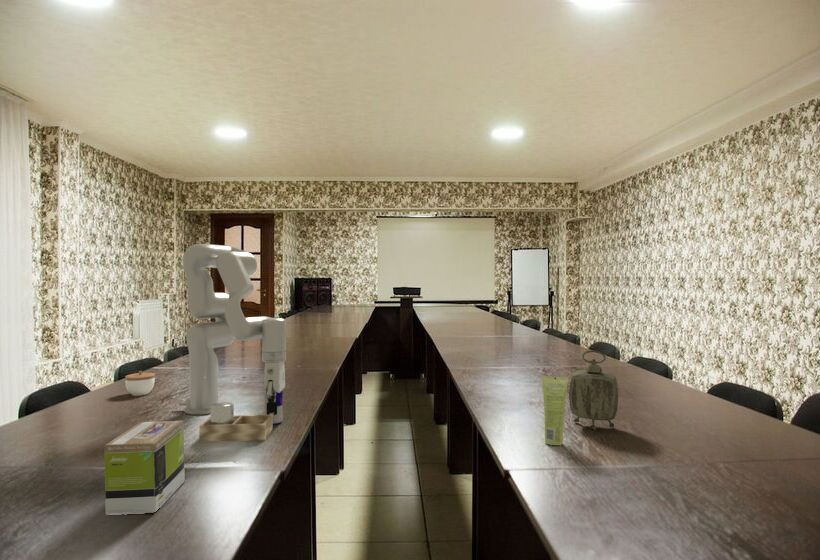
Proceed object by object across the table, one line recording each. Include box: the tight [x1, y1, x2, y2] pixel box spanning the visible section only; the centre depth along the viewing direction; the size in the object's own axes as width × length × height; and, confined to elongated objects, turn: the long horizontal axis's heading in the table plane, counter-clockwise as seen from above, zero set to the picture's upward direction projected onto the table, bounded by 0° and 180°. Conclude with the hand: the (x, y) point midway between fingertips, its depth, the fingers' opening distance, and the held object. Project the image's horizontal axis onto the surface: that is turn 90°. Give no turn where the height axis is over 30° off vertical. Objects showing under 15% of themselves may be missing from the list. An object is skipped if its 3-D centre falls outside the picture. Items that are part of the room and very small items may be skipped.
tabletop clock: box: [568, 349, 619, 430], centre depth 148 cm, size 14×9×25 cm, turn 65°
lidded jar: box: [124, 370, 156, 397], centre depth 190 cm, size 11×11×9 cm
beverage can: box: [264, 383, 284, 426], centre depth 149 cm, size 6×6×15 cm
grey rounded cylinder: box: [210, 401, 235, 425], centre depth 136 cm, size 6×6×9 cm
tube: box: [541, 375, 569, 446], centre depth 134 cm, size 6×5×20 cm
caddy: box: [198, 414, 274, 443], centre depth 137 cm, size 18×10×6 cm, turn 94°
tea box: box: [103, 420, 186, 515], centre depth 99 cm, size 15×10×15 cm, turn 5°
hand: (273, 411), depth 149 cm, fingers closed on beverage can, 4 cm apart
